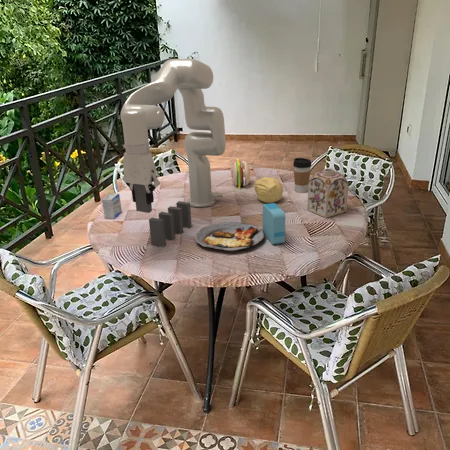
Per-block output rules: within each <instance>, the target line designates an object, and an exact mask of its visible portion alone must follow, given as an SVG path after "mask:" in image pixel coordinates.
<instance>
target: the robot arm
mask: <svg viewBox="0 0 450 450" xmlns="http://www.w3.org/2000/svg"><path fill="white" fill-rule="evenodd" d="M213 82H214V72H213V70H212V68H211V67H210V65H208V64H206V63H203V62H202V61H200V60H197V59H195V58H170V59H167V60H165V61H164V63H163V64H162V66H161V67H160V68H159V70H158V72H157V73H156V75H155V76H154V78H153V79H152V81H151V82H149V83H147V84H145V85H144V86H142V87H140V88H138V89H137V90H135V91H134V92H132V93H131V94H130V95H129V96H128V98H127V99H126V100H125V102H124V103H123V106H122V107H121V110H120V120H121V123H122V124H121V125H122V132H123V140H124V144H123V145H122V147H123V148H124V149H125V152H123V158H122V159H123V162H122V163H123V164H122V166H123V168H122V169H123V177H122V181H123V182H124V183H125V184H126V185H127V186H128V188H129V190H130V191H131V197H132V202H133V203H136V200H135V192H134V184H138V185H145V188H146V191H147V193H146V203H147V204H148V205H149V204H151V205H152V203H154V202H155V201H154V200H155V196H154V191H155V189H156V188H157V187H158V186H160V184H161V181H160V180H159V179H158V177H157V173H156V166H155V161H154V158H153V154H152V152H150V142H149V141H150V140H149V133H148V130H156V129H158V128H161V127H162V125H163V123H164V122H165V119H166V118H165V117H166V116H165V112H164V110H163V108H162V107H160V106H159V105H160V104H164V103H166V102H169V101H170V100H171V99H172V98H173V97H174V95H175V93H176V91H177V90H178V91H179V93H180V94H181V97H182V102H183V109H184V118H185V119H184V120H185V124H186V126H187V128H188V129H190V130H194V131H193V132H192V131H191V132H189V133H187V134H186V136H185V138H184V148H185V152H186V158H187V165H188V179H189V181H188V183H189V195H190V197H189V198H188V199H187V201H186V202H188V203H190V207H193V208H207V207H210V206H213V205H215V203H216V199H217V198H222V197H223V192H218V191H215V192H213V191H212V173H211V163H210V160H209V158H208V157H207V156H213V157H214V156H215V157H216V156H217V157H218V156H219V157H220V156H222V155H224V154H225V152H226V146H227V145H226V144H227V142H226V141H227V140H226V131H225V130H226V129H225V128H226V127H225V117H224V113H223V111H222V110H221V108H219V107H217V106H207V105H206V104H205V103H206V102H205V95H204V92H203V90H204V89H209V88H210V87H211V86H212V85H213ZM206 131H207V132H206ZM208 131H210V132H208ZM149 186H150V188H149Z"/></svg>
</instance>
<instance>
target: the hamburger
mask: <svg viewBox="0 0 450 450" xmlns="http://www.w3.org/2000/svg"><path fill="white" fill-rule="evenodd" d="M232 175H233V177H232V178H233V182H234V185H235V186H236V187H238V190H241V187H242V186H243V187H246V186H248V185H249V183H250V180H251V169H250V166H249V164H248V163H247V161H245V160H242V161H239V158H236V161H235V162H234V164H233V168H232Z"/></svg>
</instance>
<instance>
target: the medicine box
mask: <svg viewBox="0 0 450 450" xmlns="http://www.w3.org/2000/svg"><path fill="white" fill-rule="evenodd" d="M101 202H102V209H103V214H104V215H103V216H104V218H105V219H106V220H107V219H108V220H109V219H111V220H115V219H116V218H117V217H118V216H119V215H120V214H121V213H122V212H123V211H122V203H121V197H120V193H115V192H113V193H109V194H108V195H106V196H105V197H103V198H102V200H101Z"/></svg>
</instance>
